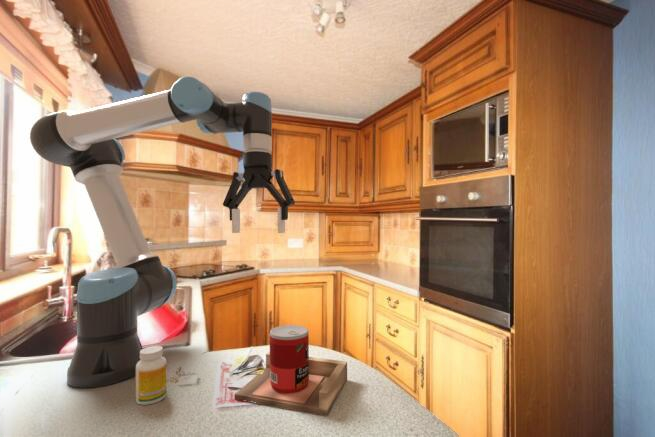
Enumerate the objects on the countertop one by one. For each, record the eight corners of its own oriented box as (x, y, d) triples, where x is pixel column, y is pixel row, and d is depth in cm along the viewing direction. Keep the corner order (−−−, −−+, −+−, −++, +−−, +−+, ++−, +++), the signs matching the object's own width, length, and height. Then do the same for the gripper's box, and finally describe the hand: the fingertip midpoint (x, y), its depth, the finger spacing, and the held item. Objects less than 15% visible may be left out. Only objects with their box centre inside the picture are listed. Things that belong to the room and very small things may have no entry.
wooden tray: (234, 399, 64) (234, 378, 64) (269, 368, 77) (269, 351, 77) (327, 416, 58) (326, 393, 58) (347, 380, 71) (347, 361, 71)
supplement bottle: (130, 400, 64) (130, 350, 64) (157, 388, 68) (157, 342, 69) (144, 409, 61) (144, 357, 61) (171, 396, 65) (171, 347, 65)
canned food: (303, 395, 62) (302, 337, 63) (263, 392, 64) (263, 335, 64) (313, 377, 70) (312, 325, 70) (277, 374, 71) (277, 323, 72)
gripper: (306, 152, 87) (307, 232, 87) (226, 159, 95) (226, 232, 94) (295, 146, 80) (295, 233, 80) (209, 153, 88) (209, 233, 87)
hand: (258, 233), depth 87 cm, fingers open, 13 cm apart
